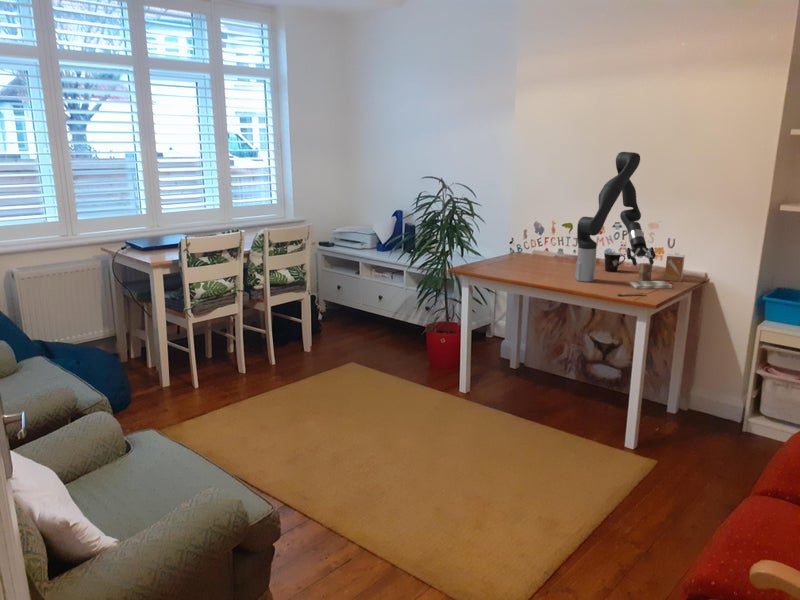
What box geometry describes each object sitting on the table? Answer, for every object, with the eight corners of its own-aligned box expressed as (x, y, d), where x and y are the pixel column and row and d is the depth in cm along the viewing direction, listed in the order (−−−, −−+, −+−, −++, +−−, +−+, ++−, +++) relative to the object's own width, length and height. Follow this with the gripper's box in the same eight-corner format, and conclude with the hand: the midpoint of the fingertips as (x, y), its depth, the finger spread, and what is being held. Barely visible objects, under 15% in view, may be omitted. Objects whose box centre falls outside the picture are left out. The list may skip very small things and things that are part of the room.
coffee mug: (603, 272, 347) (605, 254, 345) (602, 269, 355) (603, 251, 353) (625, 273, 345) (627, 255, 342) (624, 269, 353) (625, 252, 350)
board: (636, 288, 308) (636, 285, 308) (628, 284, 318) (628, 281, 318) (672, 288, 308) (672, 285, 308) (663, 283, 318) (663, 280, 318)
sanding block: (642, 282, 322) (643, 265, 320) (638, 280, 327) (639, 263, 325) (650, 282, 322) (652, 265, 320) (646, 279, 327) (648, 263, 325)
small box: (664, 280, 326) (666, 255, 323) (665, 277, 332) (668, 253, 328) (680, 281, 322) (683, 257, 319) (682, 279, 328) (684, 255, 324)
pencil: (617, 296, 295) (618, 295, 294) (617, 294, 295) (617, 293, 294) (645, 296, 295) (646, 295, 294) (644, 293, 295) (645, 292, 294)
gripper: (626, 235, 331) (632, 261, 322) (652, 235, 331) (659, 260, 323) (621, 244, 337) (628, 269, 329) (647, 243, 337) (654, 268, 329)
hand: (643, 264), depth 326 cm, fingers open, 8 cm apart
